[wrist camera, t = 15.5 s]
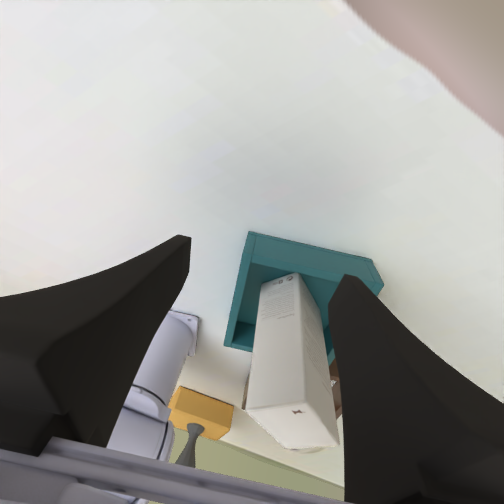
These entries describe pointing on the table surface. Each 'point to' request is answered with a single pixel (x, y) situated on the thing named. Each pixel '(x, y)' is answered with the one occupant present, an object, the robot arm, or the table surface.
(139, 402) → the robot arm
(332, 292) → the bin
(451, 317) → the table surface
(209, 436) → the rubber stamp
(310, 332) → the cosmetic box
